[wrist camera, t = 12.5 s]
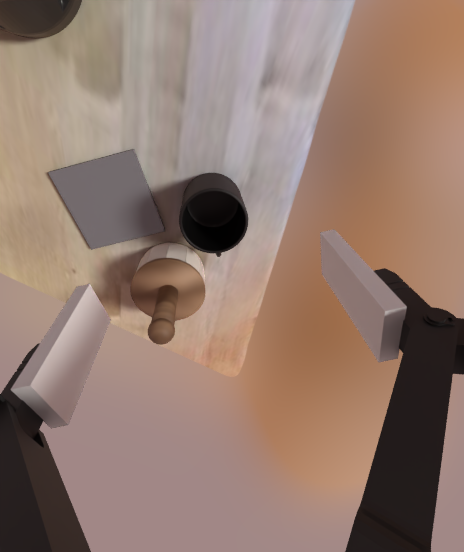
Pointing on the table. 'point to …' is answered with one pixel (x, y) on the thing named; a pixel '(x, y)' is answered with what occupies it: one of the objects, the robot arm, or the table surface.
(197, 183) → the mug
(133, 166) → the mat
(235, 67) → the table surface
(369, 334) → the robot arm
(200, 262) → the bowl
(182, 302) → the lid
